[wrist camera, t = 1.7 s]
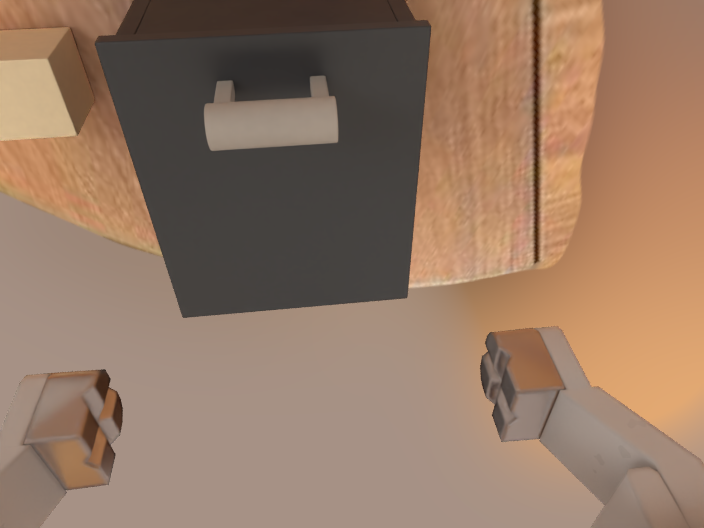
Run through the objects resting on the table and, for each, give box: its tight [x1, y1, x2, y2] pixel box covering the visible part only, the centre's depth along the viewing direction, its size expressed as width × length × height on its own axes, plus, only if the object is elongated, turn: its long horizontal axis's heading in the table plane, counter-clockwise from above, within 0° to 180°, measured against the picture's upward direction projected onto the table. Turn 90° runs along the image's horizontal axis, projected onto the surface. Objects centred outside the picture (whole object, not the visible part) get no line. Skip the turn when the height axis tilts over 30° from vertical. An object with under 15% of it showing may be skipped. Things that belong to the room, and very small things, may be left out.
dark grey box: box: [116, 0, 416, 35], centre depth 33 cm, size 16×14×10 cm
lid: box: [95, 20, 431, 318], centre depth 27 cm, size 17×14×5 cm
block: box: [0, 27, 95, 141], centre depth 31 cm, size 4×4×4 cm
